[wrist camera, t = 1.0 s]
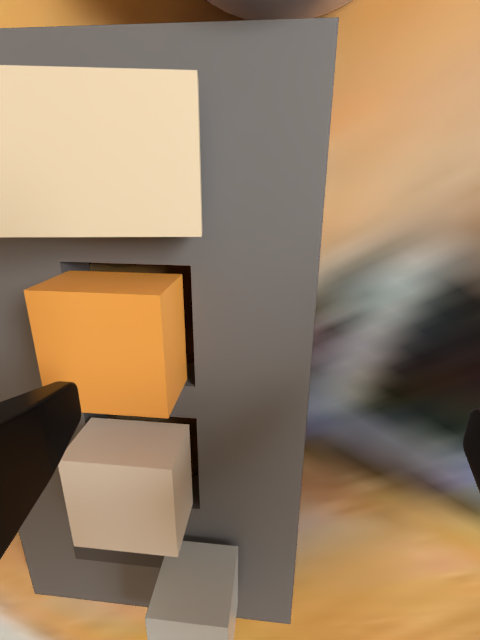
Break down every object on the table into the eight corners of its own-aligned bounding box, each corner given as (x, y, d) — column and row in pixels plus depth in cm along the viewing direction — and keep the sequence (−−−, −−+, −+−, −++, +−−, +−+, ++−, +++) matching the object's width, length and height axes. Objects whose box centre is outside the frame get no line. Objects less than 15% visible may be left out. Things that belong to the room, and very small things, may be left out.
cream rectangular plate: (198, 80, 10) (197, 69, 9) (202, 232, 12) (201, 236, 11) (-37, 74, 10) (-63, 63, 9) (-3, 232, 11) (-23, 237, 10)
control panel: (330, 42, 12) (343, 4, 9) (289, 583, 20) (290, 642, 18) (-56, 52, 13) (-141, 21, 11) (56, 557, 22) (25, 610, 19)
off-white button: (189, 424, 15) (171, 469, 13) (192, 503, 16) (177, 557, 14) (91, 417, 15) (56, 460, 13) (102, 495, 17) (73, 546, 14)
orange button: (182, 274, 13) (159, 295, 11) (186, 379, 14) (168, 418, 12) (69, 270, 13) (23, 290, 11) (84, 373, 15) (47, 410, 12)
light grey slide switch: (238, 546, 16) (228, 628, 13) (237, 601, 18) (228, 688, 15) (169, 539, 17) (145, 617, 14) (174, 594, 18) (152, 677, 15)
